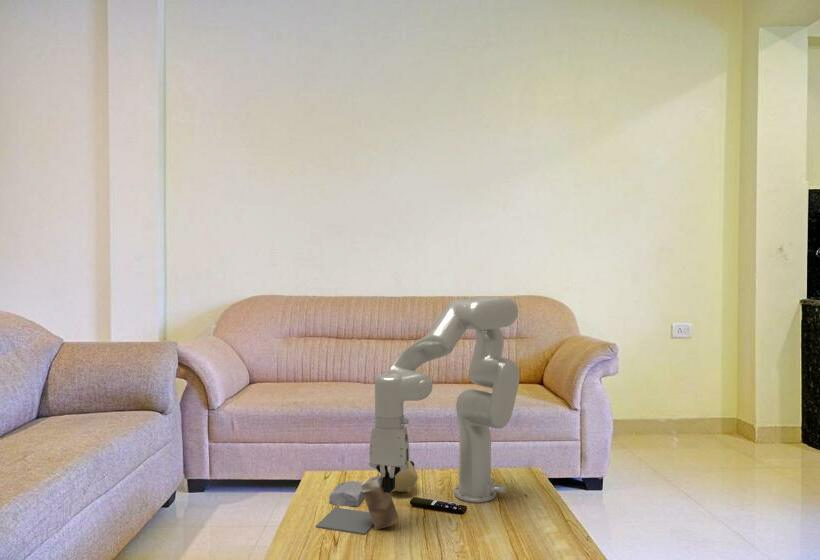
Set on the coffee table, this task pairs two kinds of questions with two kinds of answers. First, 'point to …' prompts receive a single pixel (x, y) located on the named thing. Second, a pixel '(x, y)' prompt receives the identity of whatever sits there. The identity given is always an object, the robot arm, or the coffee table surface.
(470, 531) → the coffee table surface
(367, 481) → the walnut block
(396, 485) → the tan rounded figure
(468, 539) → the coffee table surface
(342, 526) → the rubber mat
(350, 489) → the stone block
